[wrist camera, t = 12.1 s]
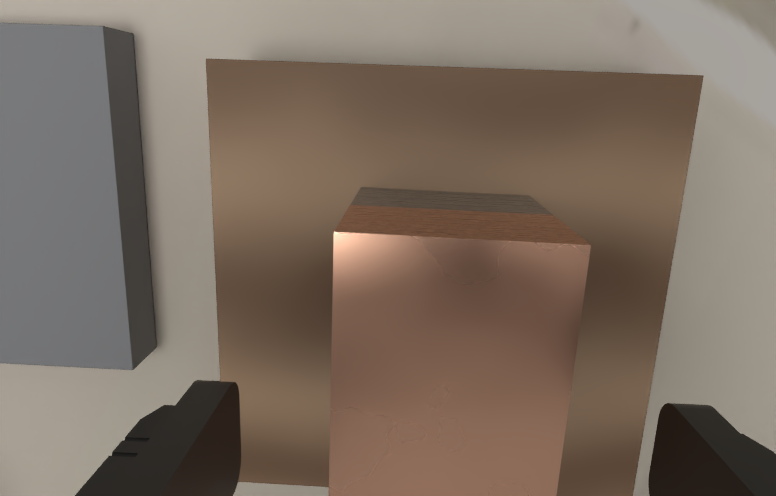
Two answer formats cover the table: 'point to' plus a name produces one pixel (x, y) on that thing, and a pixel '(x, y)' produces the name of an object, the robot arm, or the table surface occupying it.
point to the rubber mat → (72, 200)
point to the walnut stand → (439, 173)
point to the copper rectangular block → (452, 344)
